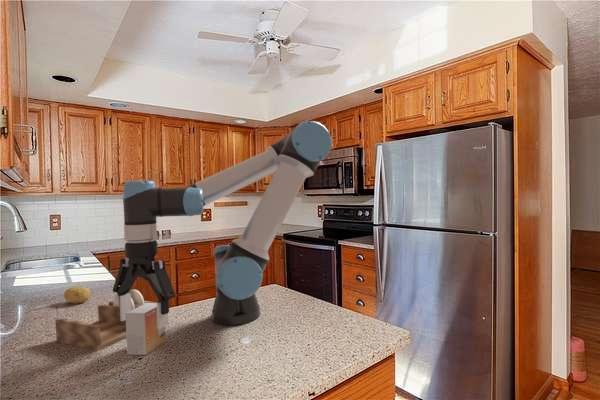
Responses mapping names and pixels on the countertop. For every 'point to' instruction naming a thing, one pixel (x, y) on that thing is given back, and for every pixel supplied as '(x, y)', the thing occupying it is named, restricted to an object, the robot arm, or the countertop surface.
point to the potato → (77, 294)
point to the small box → (143, 330)
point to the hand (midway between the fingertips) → (143, 322)
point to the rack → (98, 326)
